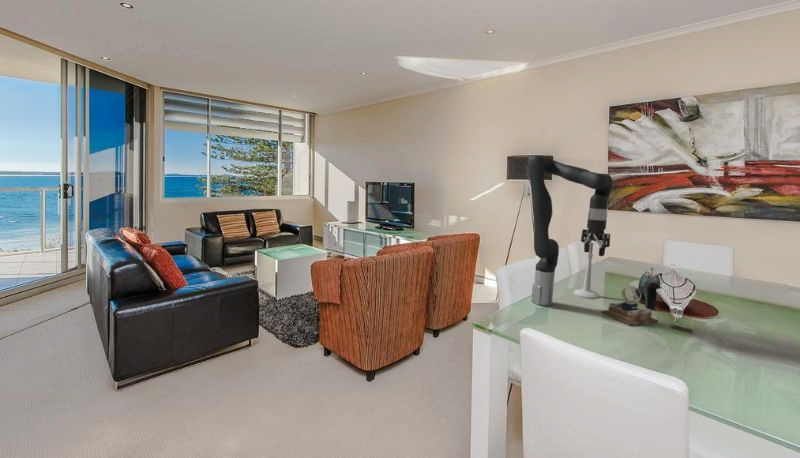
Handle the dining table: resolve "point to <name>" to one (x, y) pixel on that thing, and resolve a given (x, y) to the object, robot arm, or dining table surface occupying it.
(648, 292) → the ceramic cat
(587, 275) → the candlestick
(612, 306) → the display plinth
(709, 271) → the dining table surface
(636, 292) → the watch
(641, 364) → the dining table surface
